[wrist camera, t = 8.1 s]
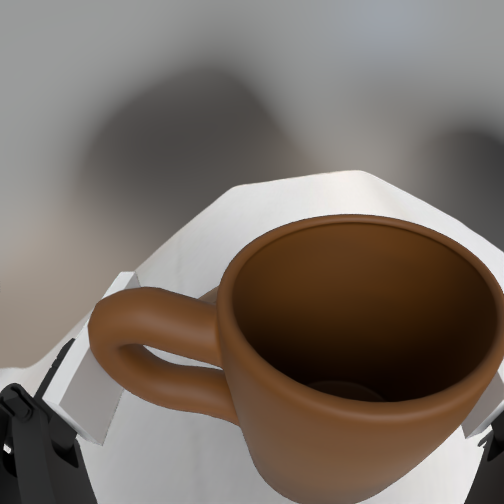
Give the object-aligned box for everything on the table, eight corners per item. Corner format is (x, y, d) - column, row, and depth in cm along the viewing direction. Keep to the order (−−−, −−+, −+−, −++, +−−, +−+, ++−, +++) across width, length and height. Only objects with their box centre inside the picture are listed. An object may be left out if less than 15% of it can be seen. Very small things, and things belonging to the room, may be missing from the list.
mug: (146, 500, 9) (-5, 387, 4) (176, 378, 15) (116, 226, 10) (420, 491, 7) (564, 362, 3) (390, 368, 14) (435, 208, 9)
